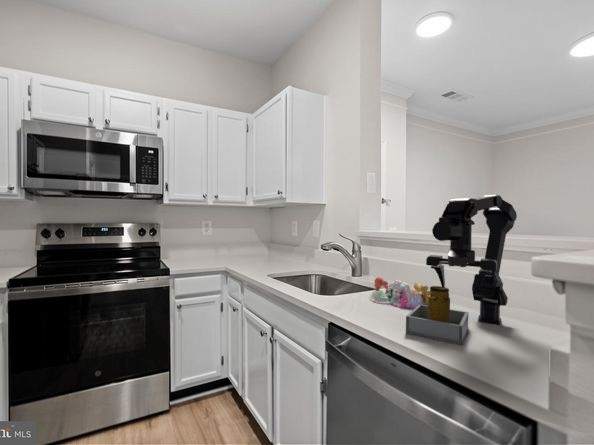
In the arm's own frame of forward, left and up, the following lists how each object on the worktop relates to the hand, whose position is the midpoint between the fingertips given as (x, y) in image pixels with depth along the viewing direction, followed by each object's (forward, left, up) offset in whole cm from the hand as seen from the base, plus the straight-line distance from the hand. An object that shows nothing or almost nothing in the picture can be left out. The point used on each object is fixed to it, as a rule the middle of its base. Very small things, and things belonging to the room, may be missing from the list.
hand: (460, 290), depth 95 cm
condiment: (+5, -4, -11) cm, 13 cm away
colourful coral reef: (-25, -25, -13) cm, 37 cm away
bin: (+5, -5, -12) cm, 14 cm away
